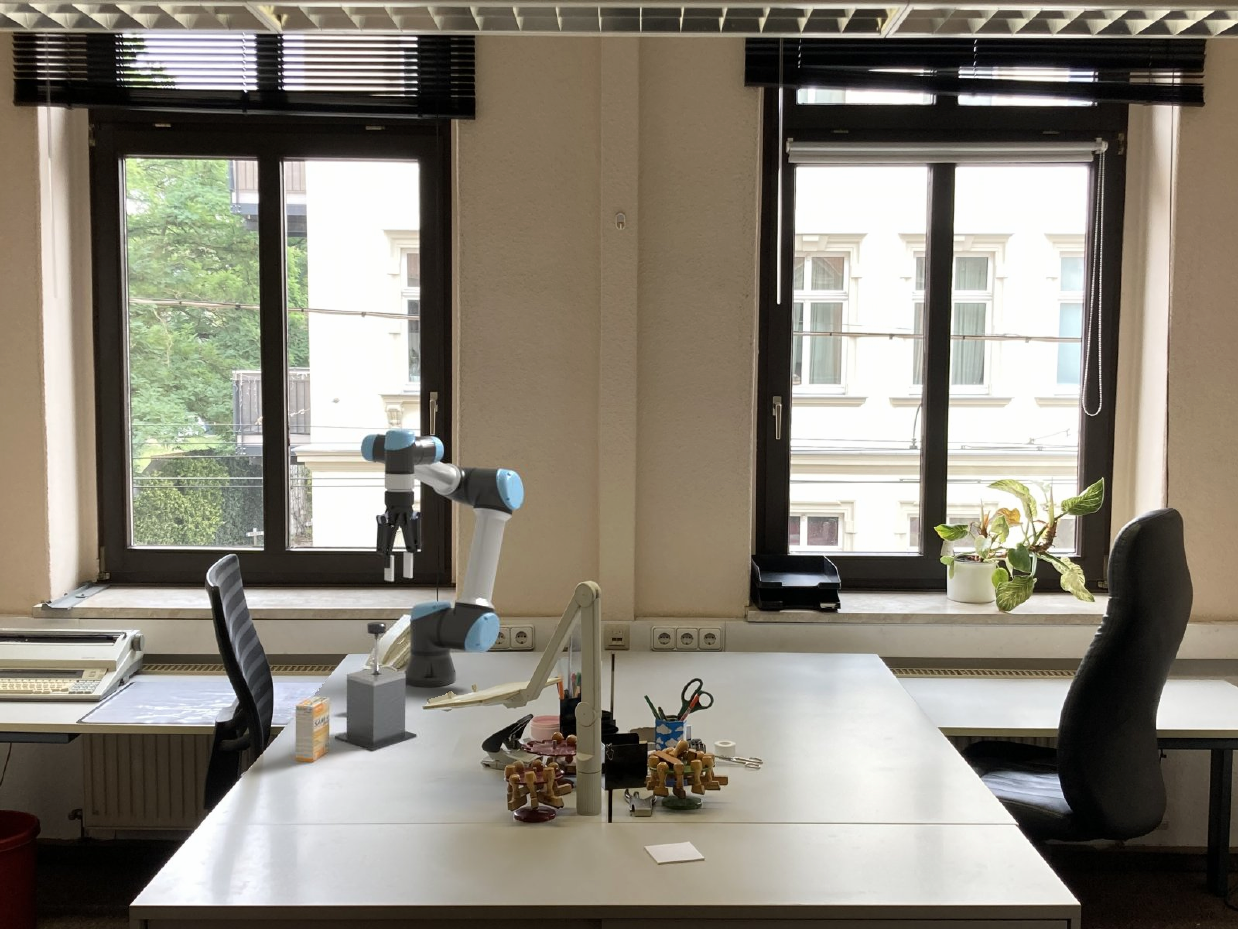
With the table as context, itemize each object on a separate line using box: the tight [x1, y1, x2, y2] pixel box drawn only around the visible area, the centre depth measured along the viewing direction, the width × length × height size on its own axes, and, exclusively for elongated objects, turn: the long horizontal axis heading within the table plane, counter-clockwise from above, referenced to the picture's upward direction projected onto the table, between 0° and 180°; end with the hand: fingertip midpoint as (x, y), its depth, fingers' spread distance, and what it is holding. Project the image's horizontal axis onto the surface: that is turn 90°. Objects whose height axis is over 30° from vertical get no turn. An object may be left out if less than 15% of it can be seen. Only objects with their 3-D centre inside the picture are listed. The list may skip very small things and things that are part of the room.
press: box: [334, 666, 417, 752], centre depth 265 cm, size 14×15×16 cm
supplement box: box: [294, 696, 331, 763], centre depth 251 cm, size 8×5×13 cm, turn 168°
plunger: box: [366, 621, 387, 675], centre depth 263 cm, size 7×7×15 cm
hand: (398, 578), depth 278 cm, fingers open, 6 cm apart
